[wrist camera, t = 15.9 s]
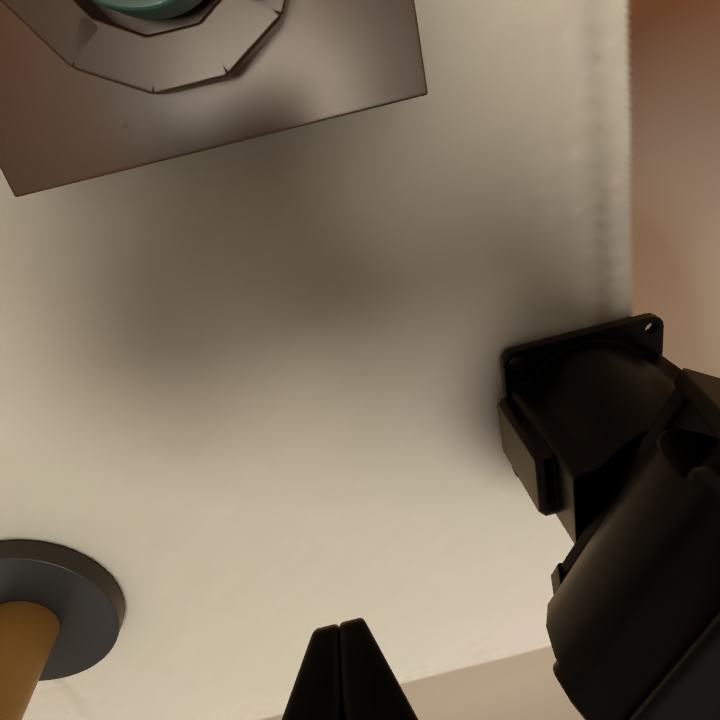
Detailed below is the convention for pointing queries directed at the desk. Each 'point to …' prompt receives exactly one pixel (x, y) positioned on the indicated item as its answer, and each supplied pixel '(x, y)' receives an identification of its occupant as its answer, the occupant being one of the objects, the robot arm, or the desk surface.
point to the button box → (187, 78)
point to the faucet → (51, 618)
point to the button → (150, 7)
